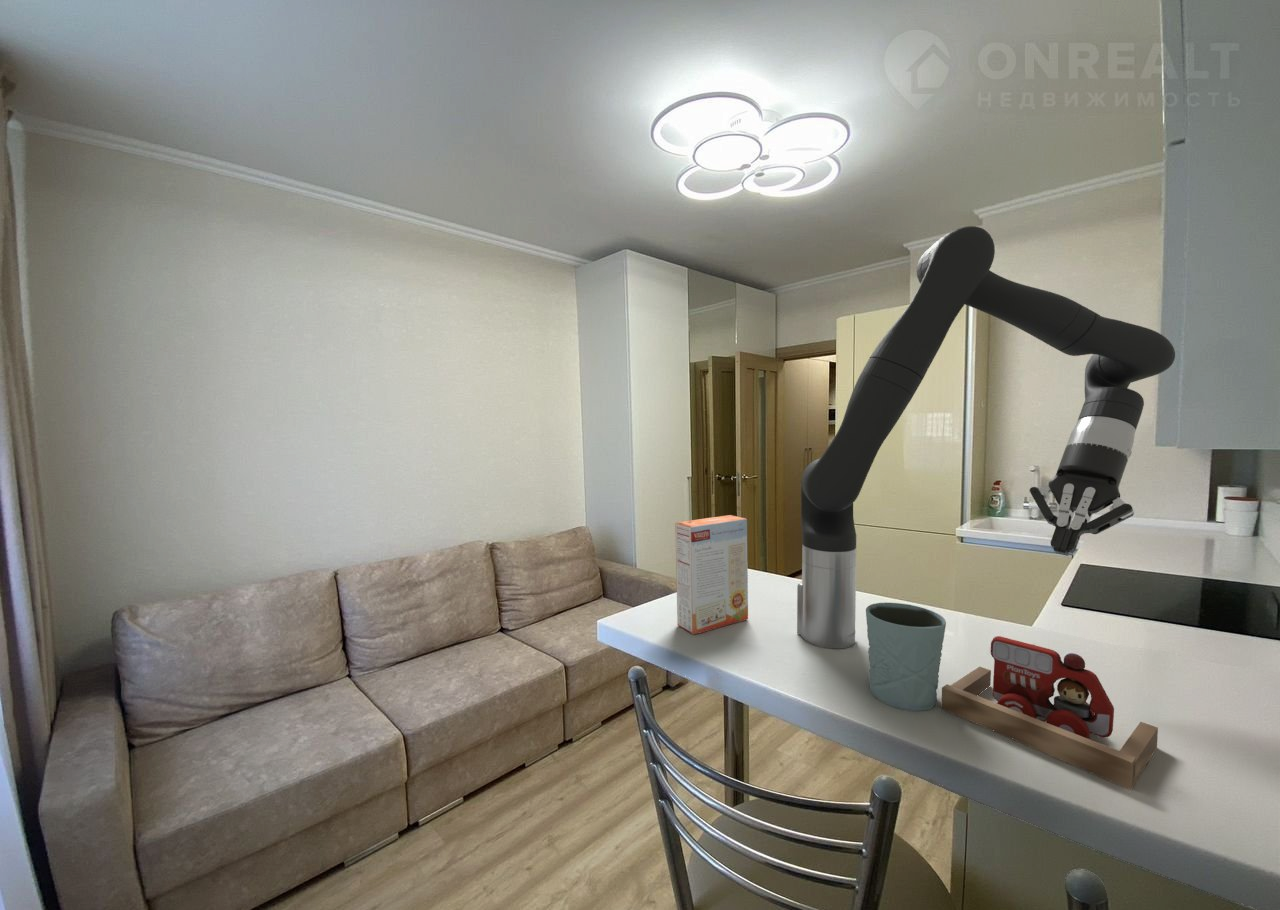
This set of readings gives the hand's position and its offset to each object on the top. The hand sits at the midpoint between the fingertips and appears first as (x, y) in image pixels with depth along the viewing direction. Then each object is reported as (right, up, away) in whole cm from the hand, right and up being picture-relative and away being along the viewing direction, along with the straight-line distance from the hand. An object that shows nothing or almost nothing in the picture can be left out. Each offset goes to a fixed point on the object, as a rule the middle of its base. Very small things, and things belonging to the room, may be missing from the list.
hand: (1060, 552), depth 77 cm
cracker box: (-50, -19, +23) cm, 58 cm away
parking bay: (-13, -20, -12) cm, 27 cm away
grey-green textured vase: (-26, -20, -4) cm, 33 cm away
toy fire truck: (-12, -20, -12) cm, 27 cm away
